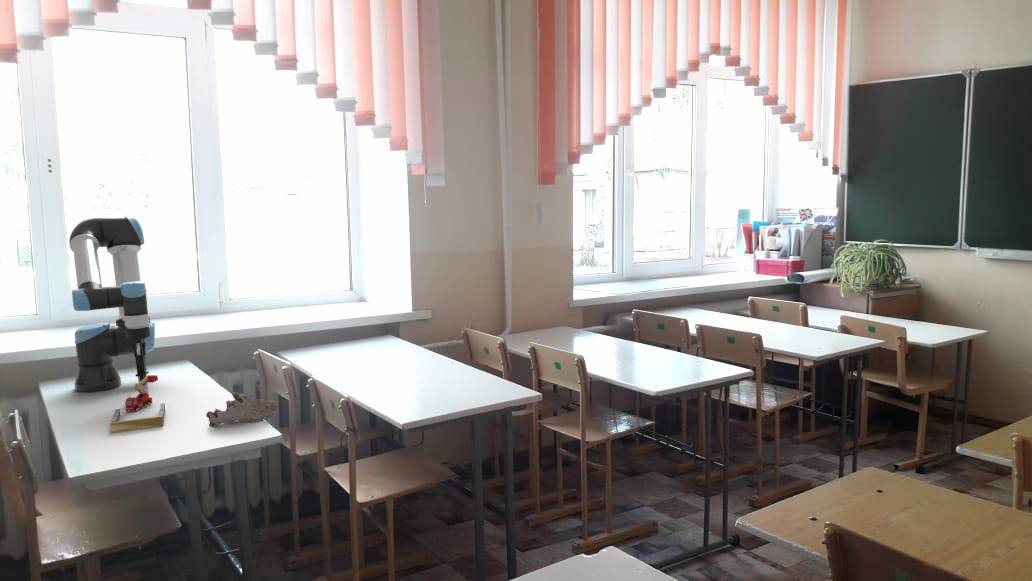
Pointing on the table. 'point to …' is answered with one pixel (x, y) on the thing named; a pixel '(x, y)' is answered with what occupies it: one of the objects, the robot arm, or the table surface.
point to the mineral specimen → (243, 410)
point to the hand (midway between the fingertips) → (144, 393)
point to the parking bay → (136, 421)
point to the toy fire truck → (140, 395)
